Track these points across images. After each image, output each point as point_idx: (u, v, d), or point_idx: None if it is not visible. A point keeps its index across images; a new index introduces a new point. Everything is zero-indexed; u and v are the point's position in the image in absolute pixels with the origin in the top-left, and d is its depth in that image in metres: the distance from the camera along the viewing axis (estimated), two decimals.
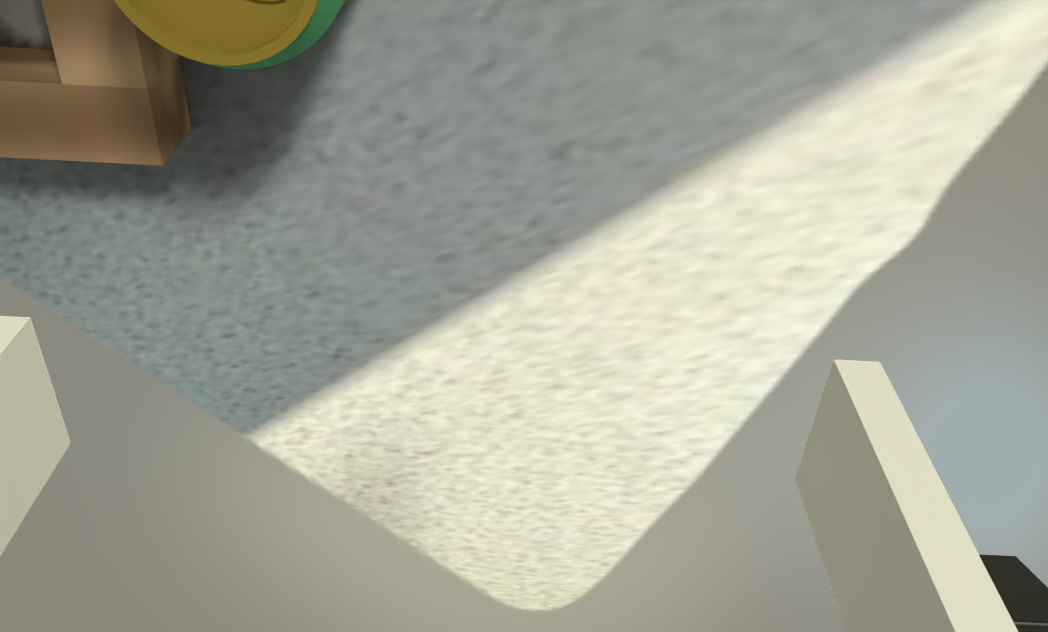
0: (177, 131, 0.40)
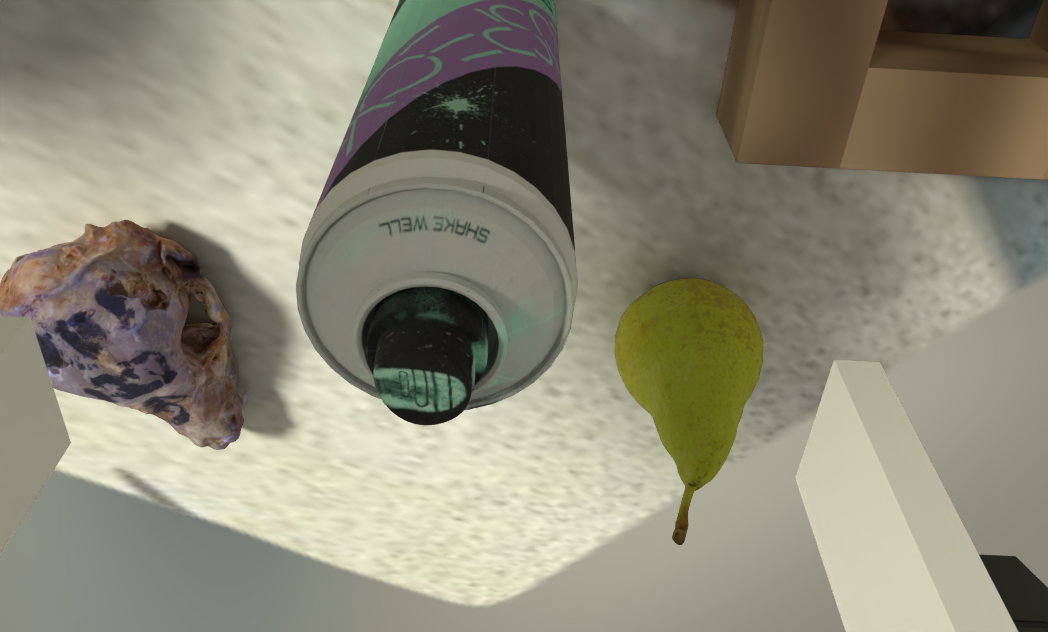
0: None
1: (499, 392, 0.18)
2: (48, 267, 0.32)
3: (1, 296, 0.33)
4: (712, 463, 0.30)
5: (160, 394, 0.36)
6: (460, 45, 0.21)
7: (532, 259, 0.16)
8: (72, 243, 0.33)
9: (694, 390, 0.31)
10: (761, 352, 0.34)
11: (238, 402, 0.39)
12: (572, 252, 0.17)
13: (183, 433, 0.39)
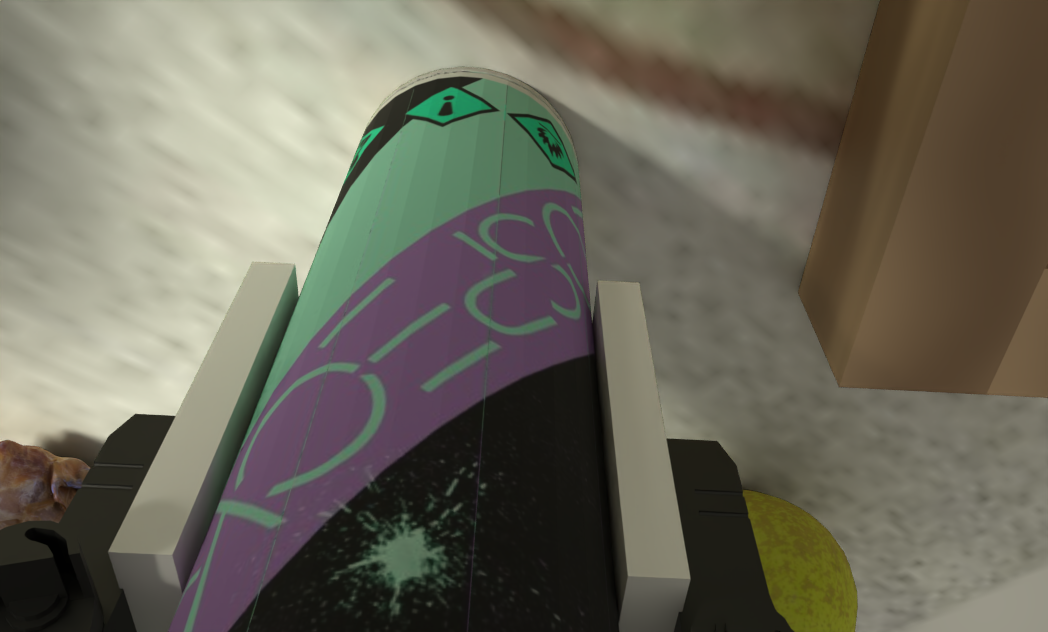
0: None
1: None
2: None
3: None
4: None
5: None
6: (424, 341, 0.12)
7: None
8: None
9: None
10: (856, 610, 0.25)
11: None
12: None
13: None
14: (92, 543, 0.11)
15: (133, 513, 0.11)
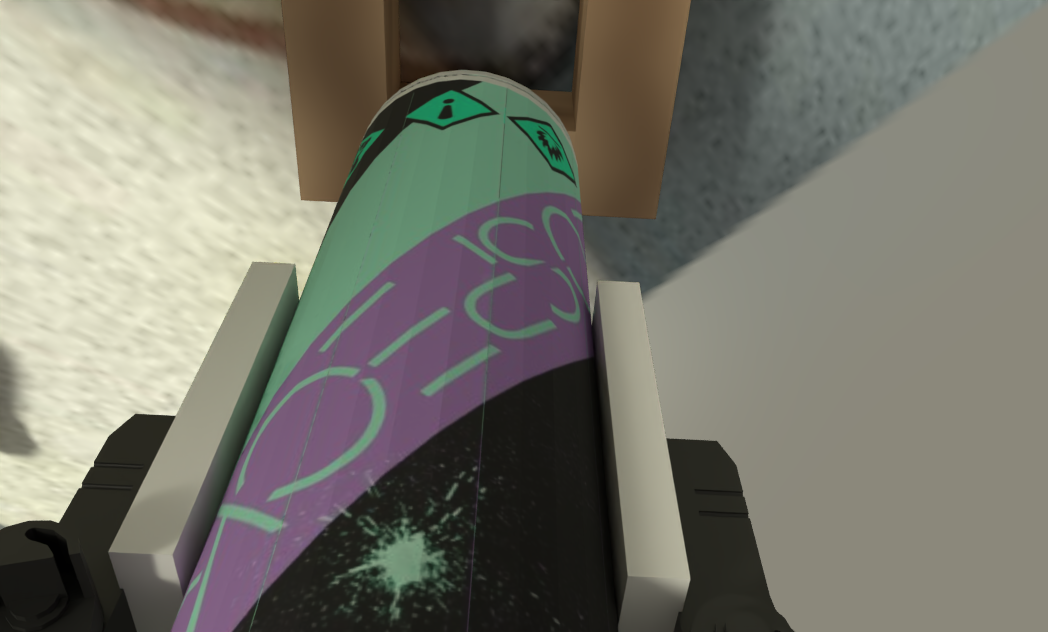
0: None
1: None
2: None
3: None
4: None
5: None
6: (424, 345, 0.12)
7: None
8: None
9: None
10: None
11: None
12: None
13: None
14: (92, 543, 0.11)
15: (133, 513, 0.11)
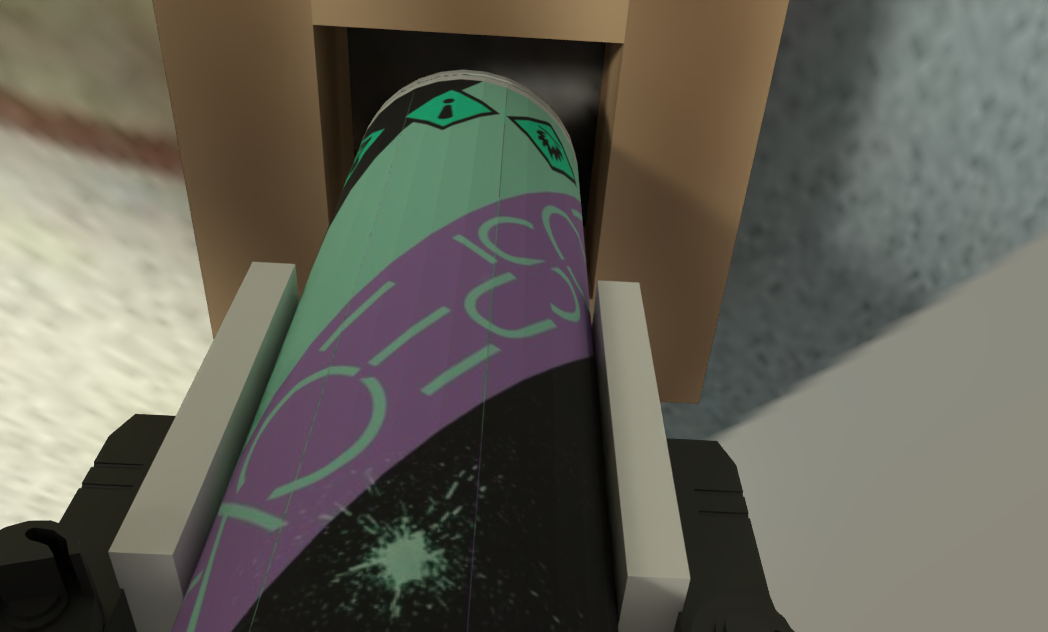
0: None
1: None
2: None
3: None
4: None
5: None
6: (424, 344, 0.12)
7: None
8: None
9: None
10: None
11: None
12: None
13: None
14: (92, 543, 0.11)
15: (134, 513, 0.11)
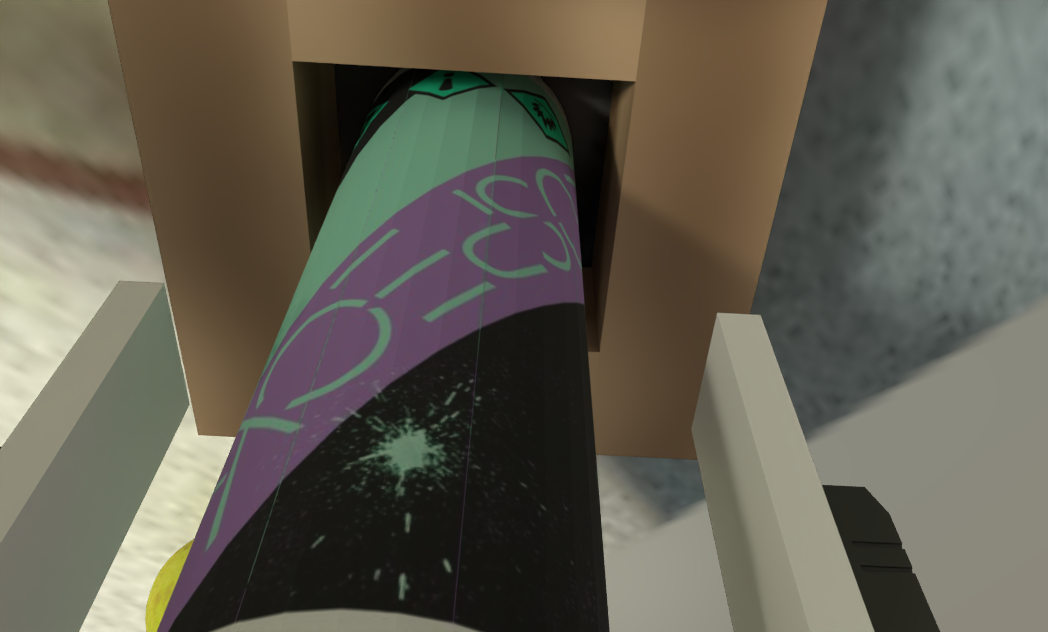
0: None
1: None
2: None
3: None
4: None
5: None
6: (425, 280, 0.13)
7: None
8: None
9: None
10: None
11: None
12: None
13: None
14: None
15: None
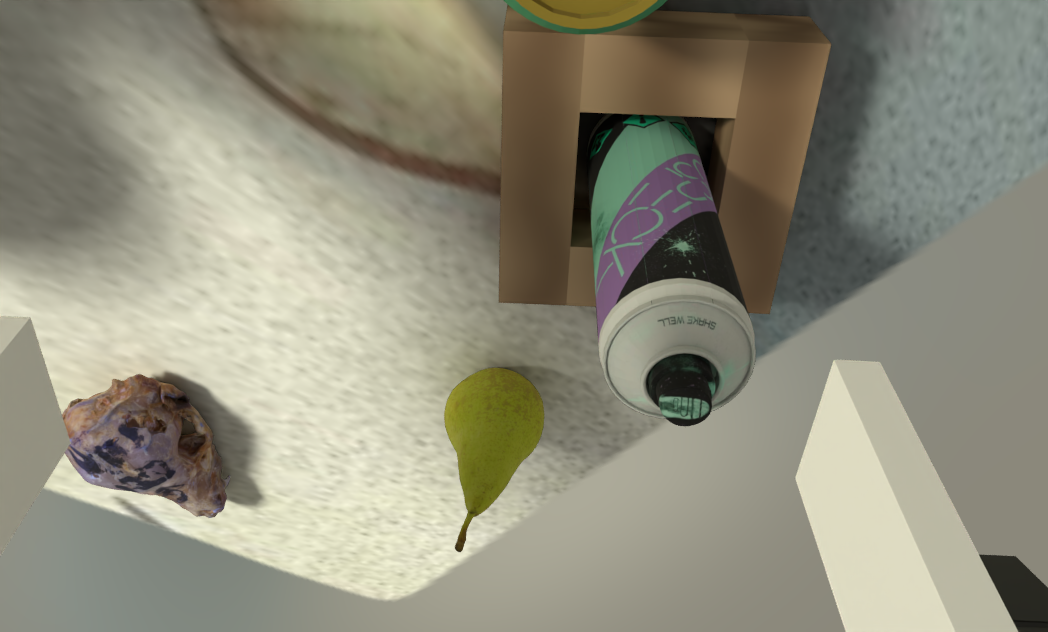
0: (804, 27, 0.40)
1: None
2: (89, 412, 0.51)
3: None
4: (484, 498, 0.46)
5: (165, 485, 0.54)
6: (668, 200, 0.35)
7: (736, 337, 0.30)
8: (103, 394, 0.52)
9: (478, 449, 0.47)
10: (538, 420, 0.50)
11: (221, 485, 0.58)
12: None
13: (185, 508, 0.57)
14: None
15: None
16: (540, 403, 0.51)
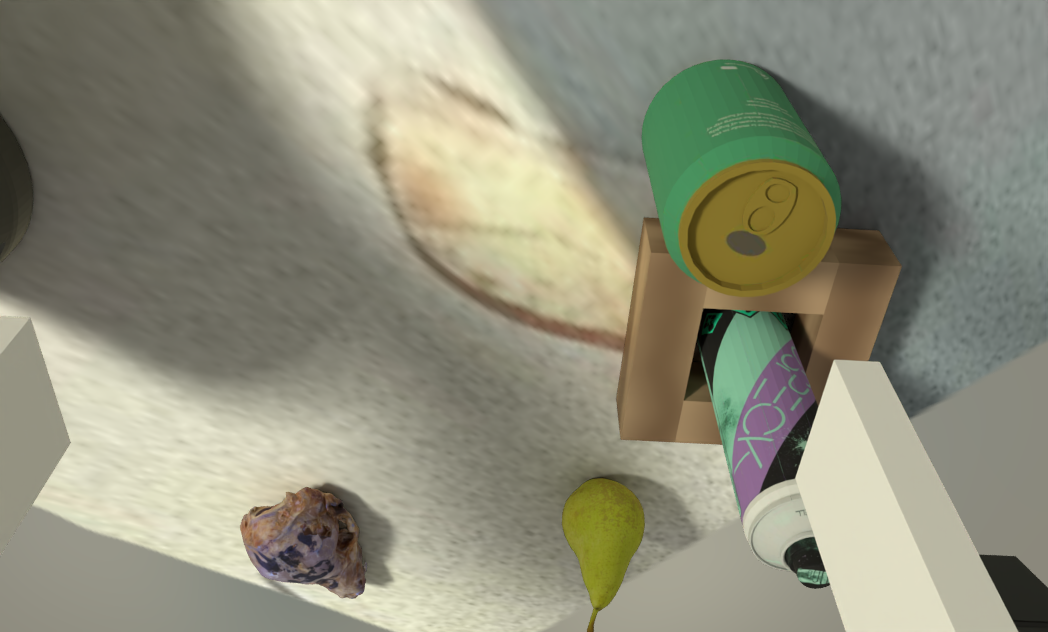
0: (878, 244, 0.51)
1: None
2: (274, 523, 0.61)
3: (247, 537, 0.62)
4: (607, 597, 0.57)
5: (326, 577, 0.65)
6: (784, 397, 0.46)
7: None
8: (282, 506, 0.62)
9: (600, 555, 0.58)
10: (642, 527, 0.61)
11: (363, 572, 0.69)
12: None
13: (333, 592, 0.68)
14: None
15: None
16: (642, 511, 0.62)
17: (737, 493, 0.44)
